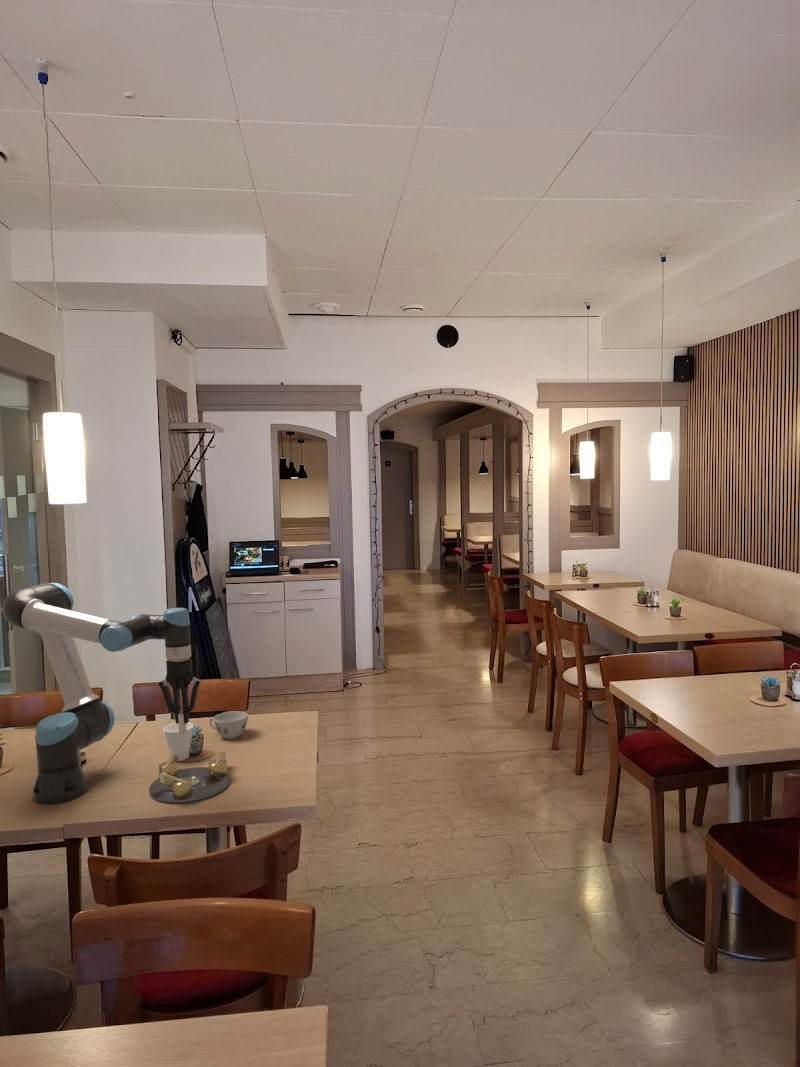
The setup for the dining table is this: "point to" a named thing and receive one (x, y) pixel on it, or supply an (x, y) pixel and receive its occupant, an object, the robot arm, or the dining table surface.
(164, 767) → the knob left
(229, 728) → the teacup
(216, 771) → the knob right
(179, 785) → the knob front
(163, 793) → the plate
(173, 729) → the cup
